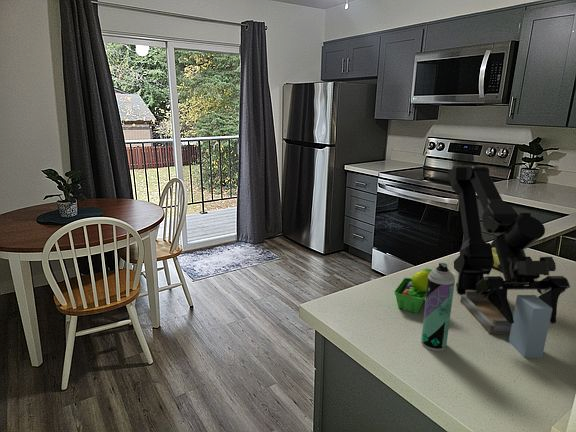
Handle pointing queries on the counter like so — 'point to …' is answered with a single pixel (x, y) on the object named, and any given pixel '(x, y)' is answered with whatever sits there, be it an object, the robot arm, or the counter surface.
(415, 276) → the fruit basket
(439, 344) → the spray can
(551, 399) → the counter surface
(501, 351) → the counter surface
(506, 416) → the counter surface
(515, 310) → the blue-grey rectangular block
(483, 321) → the shallow grey tray
